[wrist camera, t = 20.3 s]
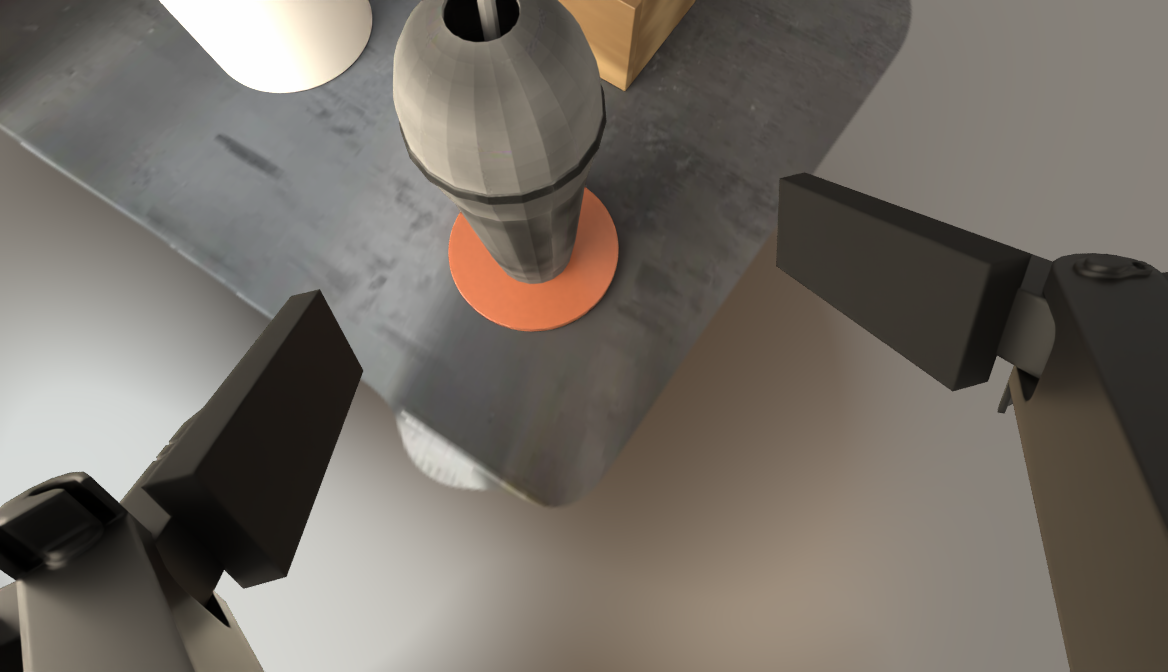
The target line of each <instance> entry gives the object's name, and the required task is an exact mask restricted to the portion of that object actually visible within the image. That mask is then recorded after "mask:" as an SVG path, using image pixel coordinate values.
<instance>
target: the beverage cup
mask: <svg viewBox="0 0 1168 672" xmlns="http://www.w3.org/2000/svg"><path fill="white" fill-rule="evenodd" d="M393 98H394V103H395V108H396V112H397V115H398V117H399V120H400V122H399V124H400V130H401V133H402V136H403V139H404V142H405V145H406V148H407V151H408V153H409V156H410V159H411V160H412V161H413V162H414V163H415V165H416V166H417V167H418V168H419V169H420V171H421V172H422V173H423V174H424V175H425V177H426V178H427V179H428V180H429V181H430V182H432V183H433V184H435V185H437V186H438V187H439V189H440V190H441V191H442V192H443V193H444V194H445V195H446V196H447V197H448V198H449V199H450V200H451V201H452V202H454V203H455V204H456V206H457V207H458V208H459V210H460V211H461V213H462V214H463V216H464V217H465V218H466V220H467V221H468V223H469V224H470V226H471V227H472V228H473V230H474V231H475V233H476V234H477V236H478V237H479V239H480V240H481V241H482V243H483V244H484V246H485V247H486V249H487V250H488V251H489V253H490V254H491V256H492V257H493V258H494V259H495V261H496V262H497V263H498V264H499V265H500V267H501V268H502V269H503V270H504V271H505V272H506V274H507V275H509V276H510V277H512V278H513V279H515V280H517V281H519V282H523V283H527V284H539V283H544V282H547V281H549V280H552V279H554V278H555V277H557V276H558V275H559V274H561V273H562V272H563V271H564V269H565V268H566V266H567V265H568V263H569V261H570V258H571V254H572V251H573V247H574V244H575V240H576V235H577V229H578V223H579V217H580V211H581V206H582V200H583V194H584V188H585V183H586V177H587V175H588V172H589V170H590V167H591V164H592V162H593V158H594V155H595V153H596V152H597V150H598V149H599V146H600V142H601V139H602V135H603V132H604V128H605V125H606V111H605V99H604V92H603V88H602V86H601V83H600V73H599V69H598V65H597V61H596V58H595V56H594V54H593V52H592V50H591V47H590V45H589V43H588V41H587V39H586V37H585V35H584V33H583V31H582V29H581V26H580V24H579V23H578V22H577V20H576V19H575V18H574V16H573V15H572V14H571V13H570V12H569V11H568V10H567V9H566V8H565V7H564V6H563V5H562V4H561V3H560V2H559V1H558V0H422V1H421V2H420V3H419V4H418V5H417V6H416V7H415V8H414V10H413V11H412V12H411V14H410V16H409V18H408V20H407V22H406V24H405V27H404V29H403V31H402V34H401V36H400V38H399V40H398V43H397V47H396V51H395V55H394V74H393Z"/></svg>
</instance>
